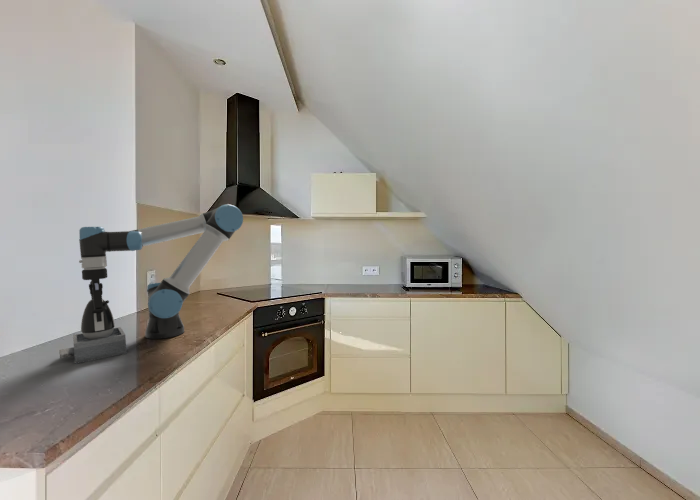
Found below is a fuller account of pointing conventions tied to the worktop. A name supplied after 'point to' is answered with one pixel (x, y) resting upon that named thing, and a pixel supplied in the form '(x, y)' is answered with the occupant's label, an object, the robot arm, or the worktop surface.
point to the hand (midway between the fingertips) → (98, 327)
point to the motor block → (96, 347)
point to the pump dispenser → (89, 324)
